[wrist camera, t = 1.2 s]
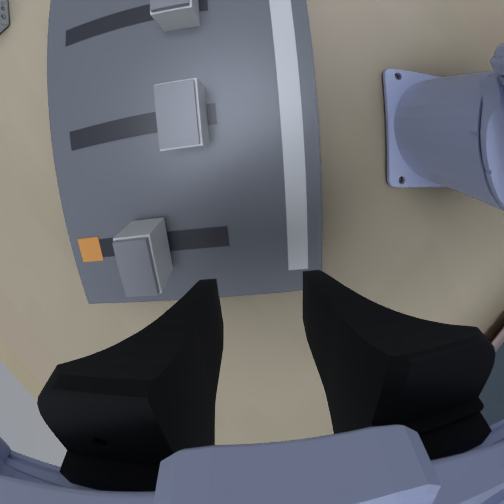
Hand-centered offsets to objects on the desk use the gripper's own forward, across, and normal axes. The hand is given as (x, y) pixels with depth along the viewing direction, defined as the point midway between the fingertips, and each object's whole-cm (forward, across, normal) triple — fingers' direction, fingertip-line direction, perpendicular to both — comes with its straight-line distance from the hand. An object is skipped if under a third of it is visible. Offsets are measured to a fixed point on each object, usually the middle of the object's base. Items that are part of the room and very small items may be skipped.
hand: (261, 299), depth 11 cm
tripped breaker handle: (+7, +6, 0) cm, 9 cm away
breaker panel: (+9, +4, -7) cm, 12 cm away
